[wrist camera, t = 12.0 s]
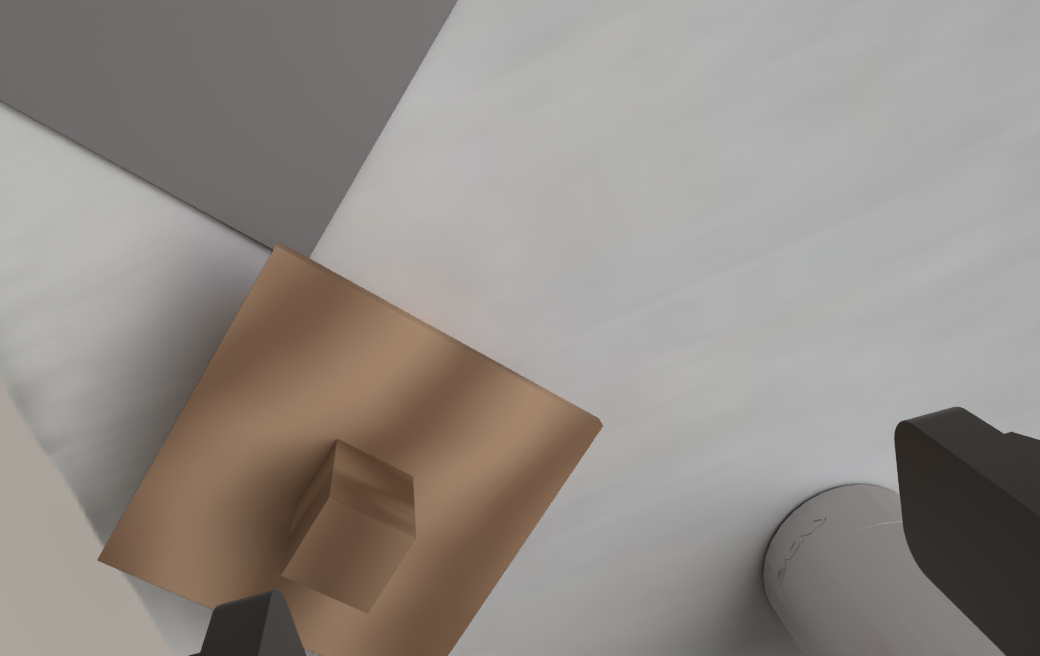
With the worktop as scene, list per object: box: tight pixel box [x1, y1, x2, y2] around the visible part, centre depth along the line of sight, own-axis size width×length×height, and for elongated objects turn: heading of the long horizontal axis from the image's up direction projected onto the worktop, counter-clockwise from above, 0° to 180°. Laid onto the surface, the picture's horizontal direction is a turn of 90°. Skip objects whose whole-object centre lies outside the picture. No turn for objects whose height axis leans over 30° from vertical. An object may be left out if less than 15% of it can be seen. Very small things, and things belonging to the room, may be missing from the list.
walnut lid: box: [98, 242, 603, 656], centre depth 35 cm, size 15×15×6 cm
